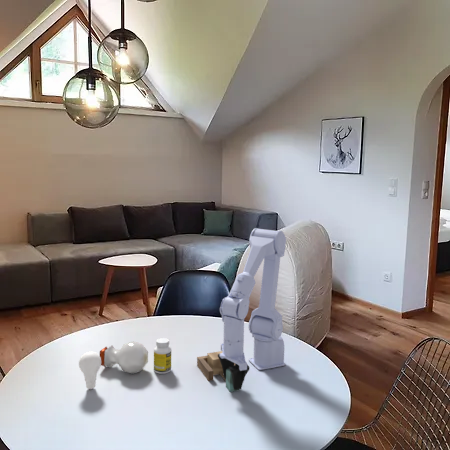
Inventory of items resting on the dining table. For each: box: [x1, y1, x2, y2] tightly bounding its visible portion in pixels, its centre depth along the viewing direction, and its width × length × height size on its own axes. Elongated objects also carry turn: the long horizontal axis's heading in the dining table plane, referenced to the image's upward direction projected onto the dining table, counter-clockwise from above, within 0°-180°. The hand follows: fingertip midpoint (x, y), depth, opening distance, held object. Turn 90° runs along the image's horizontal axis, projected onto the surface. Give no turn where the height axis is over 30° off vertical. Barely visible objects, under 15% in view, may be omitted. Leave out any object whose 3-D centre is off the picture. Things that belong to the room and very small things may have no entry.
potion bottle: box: [99, 341, 149, 375], centre depth 141 cm, size 9×10×15 cm
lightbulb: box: [78, 351, 102, 390], centre depth 129 cm, size 6×6×11 cm
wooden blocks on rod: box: [206, 350, 241, 393], centre depth 137 cm, size 5×16×6 cm, turn 22°
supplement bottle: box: [153, 337, 172, 375], centre depth 141 cm, size 5×5×10 cm
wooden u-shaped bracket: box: [196, 355, 236, 382], centre depth 142 cm, size 10×10×3 cm
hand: (232, 383), depth 131 cm, fingers open, 6 cm apart
